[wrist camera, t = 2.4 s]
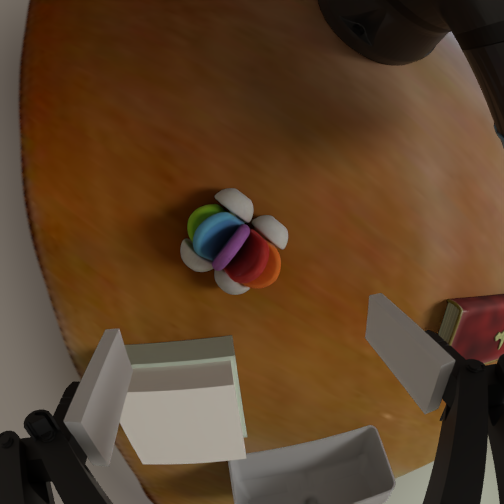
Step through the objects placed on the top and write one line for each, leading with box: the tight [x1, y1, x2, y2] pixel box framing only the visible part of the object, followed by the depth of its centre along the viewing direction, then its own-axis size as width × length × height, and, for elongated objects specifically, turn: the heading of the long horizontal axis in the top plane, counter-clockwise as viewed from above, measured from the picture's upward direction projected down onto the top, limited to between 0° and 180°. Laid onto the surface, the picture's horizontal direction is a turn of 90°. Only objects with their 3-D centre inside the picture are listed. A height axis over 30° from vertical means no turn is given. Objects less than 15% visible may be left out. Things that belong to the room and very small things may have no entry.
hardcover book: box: [438, 294, 504, 365], centre depth 40 cm, size 12×21×4 cm, turn 86°
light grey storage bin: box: [228, 425, 396, 504], centre depth 40 cm, size 25×16×12 cm, turn 96°
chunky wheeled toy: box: [180, 188, 288, 295], centre depth 29 cm, size 8×10×7 cm
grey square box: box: [120, 335, 247, 464], centre depth 33 cm, size 14×14×8 cm
